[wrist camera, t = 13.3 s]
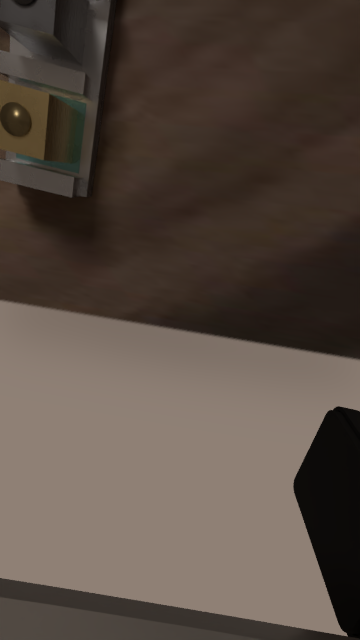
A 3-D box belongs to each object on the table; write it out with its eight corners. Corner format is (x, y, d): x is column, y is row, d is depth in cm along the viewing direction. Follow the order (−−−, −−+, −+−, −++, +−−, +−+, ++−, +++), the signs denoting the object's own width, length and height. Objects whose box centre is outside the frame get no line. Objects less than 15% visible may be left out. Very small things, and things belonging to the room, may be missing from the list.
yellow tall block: (77, 110, 31) (48, 92, 25) (71, 163, 33) (42, 160, 26) (28, 97, 31) (-16, 75, 24) (24, 151, 33) (-17, 144, 26)
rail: (136, -156, 26) (125, -226, 22) (91, 196, 36) (77, 199, 32) (31, -189, 26) (-3, -269, 21) (14, 177, 36) (-12, 177, 31)
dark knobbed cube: (88, 1, 28) (58, -53, 22) (82, 65, 30) (52, 33, 23) (34, -15, 28) (-14, -74, 22) (30, 51, 30) (-15, 15, 23)
